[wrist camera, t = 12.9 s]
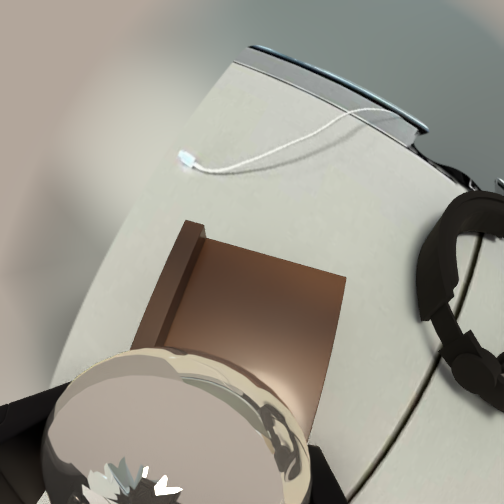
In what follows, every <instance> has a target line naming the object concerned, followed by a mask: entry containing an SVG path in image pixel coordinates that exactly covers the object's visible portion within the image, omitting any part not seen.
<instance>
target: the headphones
mask: <svg viewBox="0 0 504 504" xmlns="http://www.w3.org/2000/svg"><path fill="white" fill-rule="evenodd" d="M466 231H478V232H484V233H488V234H491V235H494V236H497V237H500V238H502V237H503V238H504V196H502V195H500V194H497V193H493V192H488V191H480V190H477V191H469V192H466V193H463V194H461V195H459V196H458V197H456V198H455V199H454V200H453V201H452V202H451V203H450V204H449V205H448V207H447V208H446V210H445V212H444V213H443V215H442V216H441V218H440V219H439V221H438V222H437V224H436V225H435V227H434V228H433V230H432V231H431V233H430V234H429V236H428V237H427V239H426V240H425V242H424V244H423V246H422V248H421V251H420V254H419V258H418V263H417V272H416V286H417V297H418V306H419V311H420V318H421V321H429V320H430V319H431V321H432V324H433V326H434V328H435V331H436V333H437V335H438V336H439V338H440V340H441V342H442V344H443V346H444V348H442V349H441V350H439V351H438V352H439V353H440V355H441V356H442V357H443V358H444V360H445V361H446V362H447V364H448V365H449V366H450V367H451V368H452V373H453V376H454V378H455V380H456V381H457V382H458V383H459V384H460V385H461V386H462V387H463V388H464V389H466V390H467V391H469V392H471V393H474V394H478V395H479V396H480V397H481V398H483V399H484V400H485V401H487V402H488V403H490V404H491V405H493V406H494V407H495V408H497V409H499V410H501V411H502V412H504V352H503V353H501V354H500V355H499V356H498V357H497V358H496V357H495V356H494V355H493V354H492V353H490V352H489V351H488V350H486V349H484V348H482V347H481V346H480V344H479V342H478V341H477V339H476V337H475V336H474V334H473V333H472V331H471V330H469V331H468V332H466V333H465V334H464V335H463V333H462V331H461V329H460V327H459V325H458V323H457V321H456V319H455V317H454V315H453V313H452V311H451V308H450V306H449V303H448V302H449V301H450V300H451V299H452V298H453V297H454V293H453V289H454V288H455V287H456V286H457V284H458V281H459V277H458V269H457V260H456V241H457V236H458V234H459V233H462V232H466Z"/></svg>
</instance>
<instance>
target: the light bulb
mask: <svg viewBox="0 0 504 504" xmlns="http://www.w3.org/2000/svg"><path fill="white" fill-rule="evenodd" d="M40 463H41V472H42V479H43V483H44V486H45V489H46V492H47V495H48V498H49V501H50V503H51V504H309V503H310V498H311V491H312V483H313V474H312V463H311V455H310V452H309V449H308V446H307V443H306V440H305V437H304V434H303V431H302V429H301V428H300V426H299V424H298V423H297V421H296V419H295V417H294V416H293V414H292V412H291V411H290V409H289V408H288V407H287V406H286V404H285V403H284V402H283V401H282V400H281V399H280V398H279V397H278V395H277V394H276V393H275V392H274V391H273V390H272V389H271V388H270V387H269V386H267V385H266V384H265V383H264V382H262V381H261V380H260V379H259V378H257V377H256V376H255V375H253V374H252V373H251V372H249V371H247V370H246V369H244V368H242V367H240V366H238V365H236V364H234V363H233V362H231V361H229V360H227V359H225V358H222V357H219V356H216V355H213V354H210V353H207V352H204V351H201V350H195V349H189V348H182V347H176V346H161V347H145V348H140V349H135V350H130V351H125V352H122V353H120V354H117V355H115V356H112V357H110V358H107V359H105V360H103V361H100V362H98V363H96V364H94V365H93V366H91V367H90V368H88V369H87V370H86V371H84V372H83V373H81V374H80V375H78V376H77V377H76V378H75V379H74V380H73V381H72V382H71V383H70V385H69V386H68V387H67V388H66V389H65V390H64V391H63V392H62V394H61V395H60V397H59V399H58V401H57V402H56V404H55V406H54V407H53V409H52V411H51V413H50V415H49V416H48V419H47V422H46V425H45V428H44V432H43V435H42V440H41V452H40Z"/></svg>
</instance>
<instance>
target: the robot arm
mask: <svg viewBox="0 0 504 504" xmlns="http://www.w3.org/2000/svg"><path fill="white" fill-rule="evenodd" d="M71 382H72V381H71ZM71 382H68V383H65V384H63V385H60V386H57V387H54V388H52V389H49V390H46V391H43V392H41V393H38V394H35V395H32V396H29V397H26V398H23V399H20V400H17V401H15V402H11V403H9V405H8V404H5V405H2V406H0V504H37V502H38V501H39V499H40V498H41V496H42V495H43V493H44V492H45V490H46V489H45V486H44V483H43V479H42V472H41V463H40V452H41V440H42V435H43V432H44V428H45V425H46V422H47V419H48V416H49V415H50V413H51V411H52V409H53V407H54V406H55V404H56V402H57V401H58V399H59V397H60V395H61V394H62V392H63V391H64V390H65V389H66V388H67V387H68V386H69V385H70V383H71ZM307 446H308V449H309V452H310V455H311V463H312V474H313V483H312V491H311V498H310V503H309V504H349V503H348V501H347V499H346V498H345V496H344V494H343V492H342V490H341V488H340V486H339V484H338V482H337V480H336V478H335V476H334V475H333V473H332V471H331V469H330V467H329V465H328V463H327V461H326V459H325V457H324V455H323V453H322V451H321V449H320V448H319V447H318V446H315V445H309V444H308V445H307Z"/></svg>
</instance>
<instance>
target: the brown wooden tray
mask: <svg viewBox="0 0 504 504" xmlns="http://www.w3.org/2000/svg"><path fill="white" fill-rule="evenodd" d="M345 283H346V277H343V276H340V275H336V274H333V273H329V272H326V271H322V270H319V269H315V268H311V267H308V266H304V265H301V264H297V263H294V262H290V261H287V260H283V259H280V258H276V257H272V256H269V255H265V254H262V253H258V252H255V251H251V250H248V249H244V248H241V247H237V246H233V245H230V244H226V243H223V242H219V241H216V240H212V239H209V238H206V233H205V228H204V225H203V224H199V223H195V222H192V221H188V220H185V222H184V224H183V226H182V228H181V231H180V233H179V235H178V237H177V239H176V241H175V244H174V246H173V248H172V250H171V252H170V255H169V257H168V259H167V261H166V264H165V266H164V268H163V270H162V273H161V275H160V277H159V280H158V282H157V284H156V287H155V289H154V291H153V294H152V296H151V298H150V301H149V303H148V306H147V308H146V310H145V313H144V315H143V318H142V320H141V323H140V325H139V328H138V330H137V333H136V335H135V338H134V341H133V343H132V346H131V348H130V350H135V349H140V348H145V347H161V346H176V347H182V348H189V349H195V350H201V351H204V352H207V353H210V354H213V355H216V356H219V357H222V358H225V359H227V360H229V361H231V362H233V363H234V364H236V365H238V366H240V367H242V368H244V369H246V370H247V371H249V372H251V373H252V374H253V375H255V376H256V377H257V378H259V379H260V380H261V381H262V382H264V383H265V384H266V385H267V386H269V387H270V388H271V389H272V390H273V391H274V392H275V393H276V394H277V395H278V397H279V398H280V399H281V400H282V401H283V402H284V403H285V404H286V406H287V407H288V408H289V409H290V411H291V412H292V414H293V416H294V417H295V419H296V421H297V423H298V424H299V426H300V428H301V429H302V431H303V434H304V437H305V440H306V443H307V442H308V438H309V435H310V432H311V428H312V425H313V422H314V418H315V415H316V411H317V407H318V404H319V400H320V396H321V393H322V389H323V385H324V381H325V377H326V373H327V369H328V365H329V361H330V356H331V352H332V348H333V343H334V339H335V334H336V329H337V325H338V320H339V315H340V310H341V305H342V300H343V294H344V289H345Z"/></svg>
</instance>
